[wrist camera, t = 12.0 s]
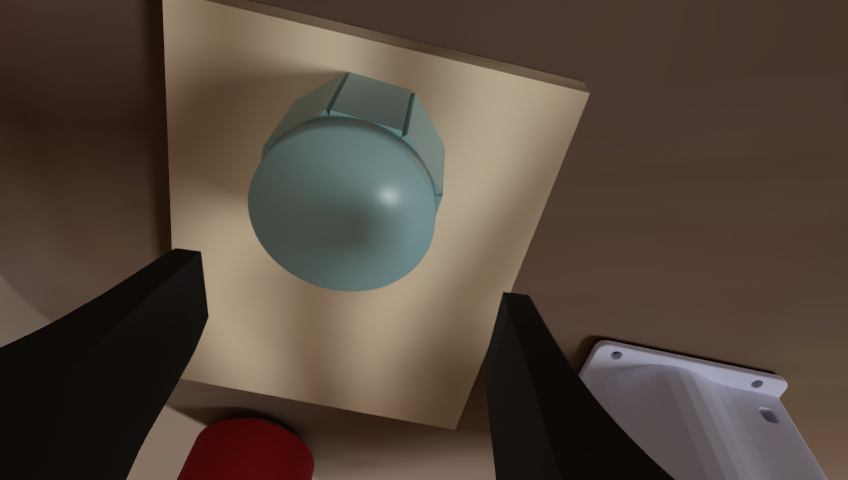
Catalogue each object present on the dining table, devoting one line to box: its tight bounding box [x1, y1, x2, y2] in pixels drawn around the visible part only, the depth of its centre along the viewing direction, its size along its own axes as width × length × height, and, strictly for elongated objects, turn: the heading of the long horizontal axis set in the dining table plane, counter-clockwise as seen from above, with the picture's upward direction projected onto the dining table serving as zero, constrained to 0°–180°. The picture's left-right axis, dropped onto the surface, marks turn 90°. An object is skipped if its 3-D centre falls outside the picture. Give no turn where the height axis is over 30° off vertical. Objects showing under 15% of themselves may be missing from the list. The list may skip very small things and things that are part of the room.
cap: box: [248, 72, 445, 292], centre depth 18 cm, size 6×6×4 cm
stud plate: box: [163, 0, 590, 430], centre depth 22 cm, size 14×18×4 cm
